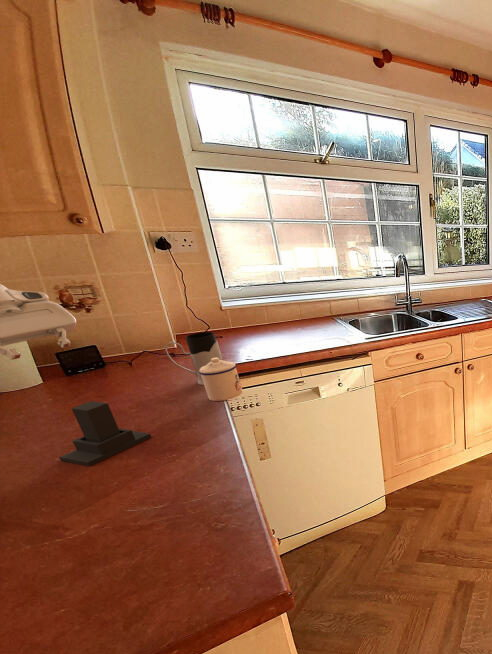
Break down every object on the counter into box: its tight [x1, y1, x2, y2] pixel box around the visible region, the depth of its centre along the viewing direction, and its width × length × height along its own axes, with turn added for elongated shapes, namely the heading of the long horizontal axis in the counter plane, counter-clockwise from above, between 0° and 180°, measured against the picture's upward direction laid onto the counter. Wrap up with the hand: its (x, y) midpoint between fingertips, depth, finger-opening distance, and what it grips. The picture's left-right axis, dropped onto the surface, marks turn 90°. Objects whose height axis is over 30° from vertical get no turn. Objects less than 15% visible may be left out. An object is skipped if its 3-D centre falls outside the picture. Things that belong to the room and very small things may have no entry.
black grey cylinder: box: [164, 331, 224, 386], centre depth 134 cm, size 9×14×15 cm, turn 114°
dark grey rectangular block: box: [71, 400, 121, 443], centre depth 95 cm, size 4×5×10 cm
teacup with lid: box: [199, 358, 244, 402], centre depth 124 cm, size 12×9×12 cm
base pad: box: [59, 427, 152, 467], centre depth 97 cm, size 13×9×4 cm
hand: (42, 351), depth 99 cm, fingers open, 8 cm apart
